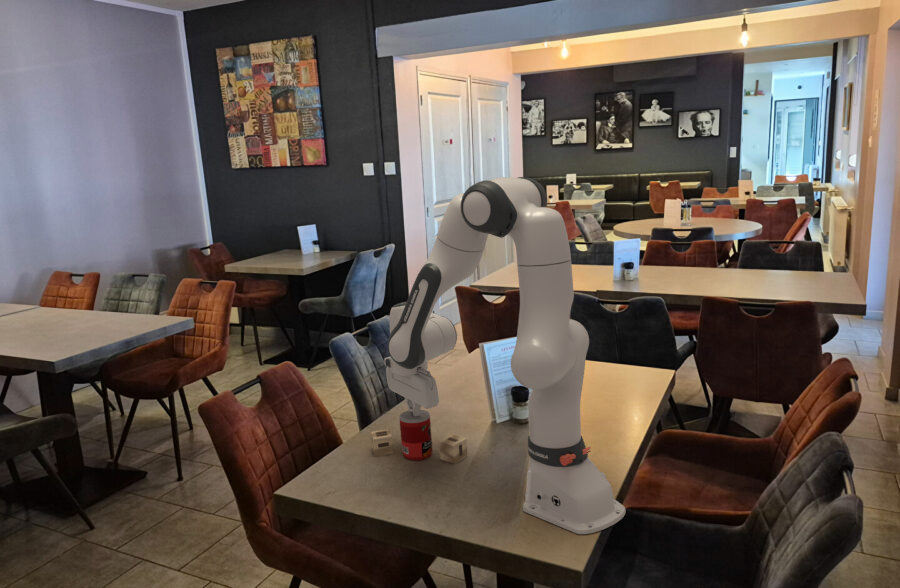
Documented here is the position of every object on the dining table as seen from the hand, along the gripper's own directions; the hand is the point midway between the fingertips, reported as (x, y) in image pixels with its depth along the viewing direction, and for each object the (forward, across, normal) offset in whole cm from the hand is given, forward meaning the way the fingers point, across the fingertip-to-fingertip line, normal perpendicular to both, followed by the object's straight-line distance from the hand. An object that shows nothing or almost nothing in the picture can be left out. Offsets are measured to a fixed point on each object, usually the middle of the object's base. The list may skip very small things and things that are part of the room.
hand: (414, 414), depth 168 cm
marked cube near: (+11, -8, -6) cm, 15 cm away
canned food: (+11, 0, 0) cm, 11 cm away
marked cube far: (+11, +8, +6) cm, 15 cm away
